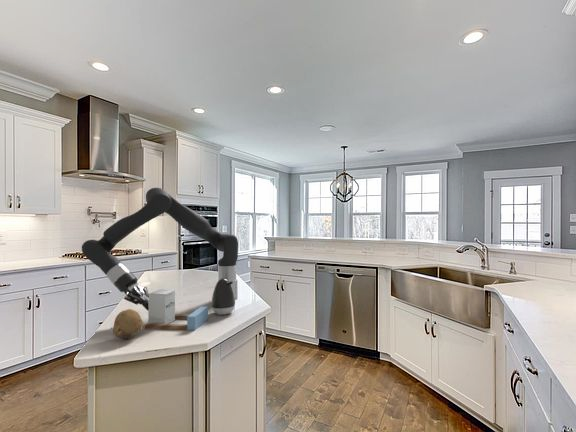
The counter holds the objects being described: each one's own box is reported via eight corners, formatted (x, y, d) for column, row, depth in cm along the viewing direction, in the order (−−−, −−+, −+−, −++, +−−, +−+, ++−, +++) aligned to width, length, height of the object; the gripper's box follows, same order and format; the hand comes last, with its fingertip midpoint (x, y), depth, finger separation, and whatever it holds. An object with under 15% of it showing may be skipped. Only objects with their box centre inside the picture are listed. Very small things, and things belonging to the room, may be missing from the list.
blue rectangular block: (187, 329, 114) (187, 316, 114) (201, 318, 127) (200, 306, 127) (195, 330, 113) (195, 316, 113) (208, 318, 126) (207, 306, 126)
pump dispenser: (224, 318, 126) (223, 281, 126) (206, 314, 132) (206, 279, 132) (240, 311, 135) (240, 277, 135) (223, 308, 140) (222, 275, 141)
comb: (144, 328, 115) (144, 324, 115) (162, 317, 128) (162, 313, 128) (187, 329, 114) (187, 325, 114) (201, 318, 127) (201, 314, 127)
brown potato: (147, 333, 110) (147, 306, 110) (134, 343, 101) (134, 313, 102) (123, 333, 111) (123, 306, 111) (107, 343, 102) (107, 313, 102)
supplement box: (164, 326, 117) (164, 294, 117) (147, 325, 119) (147, 293, 119) (175, 320, 124) (175, 289, 125) (159, 319, 126) (159, 288, 126)
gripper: (126, 280, 130) (153, 310, 129) (104, 287, 117) (134, 320, 115) (137, 268, 130) (165, 297, 128) (117, 274, 116) (147, 306, 115)
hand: (150, 308), depth 122 cm, fingers closed
